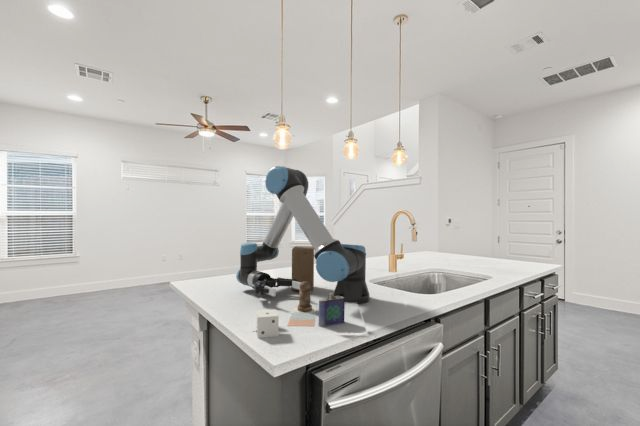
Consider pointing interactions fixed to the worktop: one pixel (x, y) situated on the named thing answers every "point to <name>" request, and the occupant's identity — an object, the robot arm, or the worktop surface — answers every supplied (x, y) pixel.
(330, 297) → the flask
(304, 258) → the wooden block
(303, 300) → the pawn
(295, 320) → the board
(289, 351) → the worktop surface
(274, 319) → the white die
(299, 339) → the worktop surface
